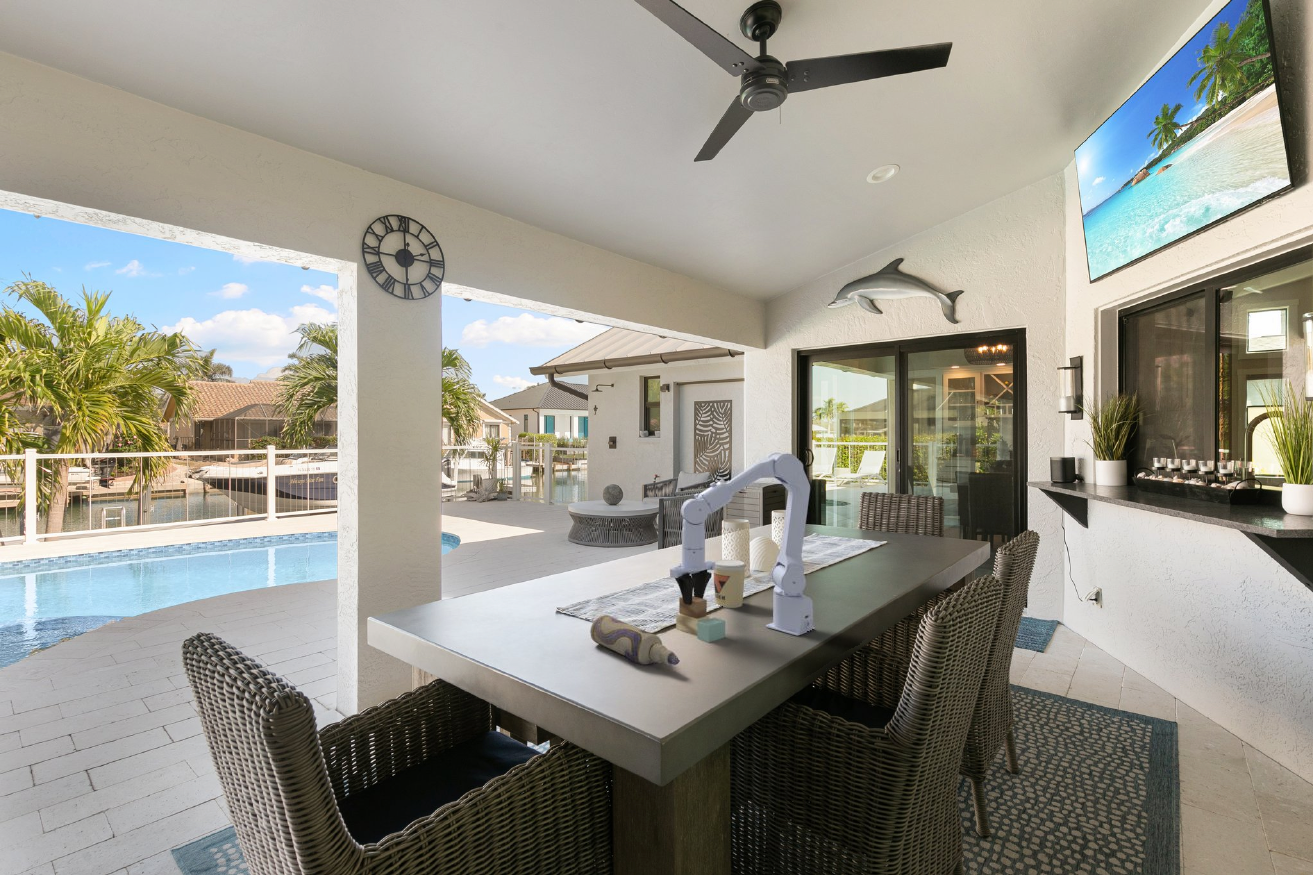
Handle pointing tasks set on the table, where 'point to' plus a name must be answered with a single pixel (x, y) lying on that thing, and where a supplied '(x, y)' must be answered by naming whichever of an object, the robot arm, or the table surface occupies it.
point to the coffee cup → (729, 583)
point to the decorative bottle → (631, 641)
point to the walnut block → (693, 607)
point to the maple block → (688, 623)
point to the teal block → (711, 629)
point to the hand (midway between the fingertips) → (693, 602)
